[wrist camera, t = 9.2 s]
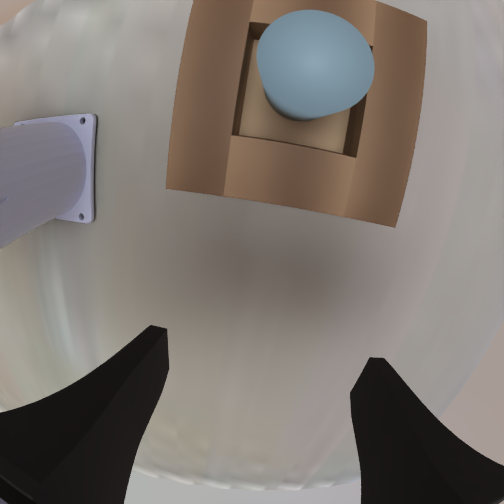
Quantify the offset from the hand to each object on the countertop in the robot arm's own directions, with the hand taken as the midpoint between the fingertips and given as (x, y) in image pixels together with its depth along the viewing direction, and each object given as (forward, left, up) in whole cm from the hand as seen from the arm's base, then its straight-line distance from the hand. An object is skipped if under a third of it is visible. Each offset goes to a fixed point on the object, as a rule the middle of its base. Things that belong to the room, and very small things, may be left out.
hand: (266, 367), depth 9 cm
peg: (0, +10, -10) cm, 14 cm away
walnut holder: (0, +10, -10) cm, 14 cm away
